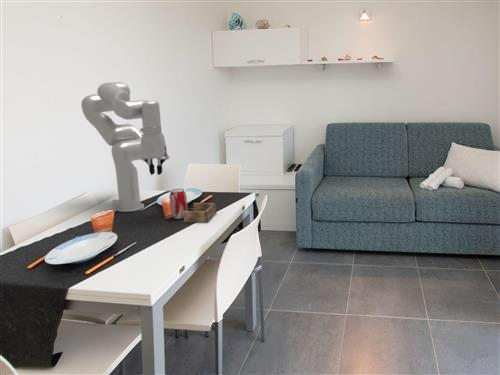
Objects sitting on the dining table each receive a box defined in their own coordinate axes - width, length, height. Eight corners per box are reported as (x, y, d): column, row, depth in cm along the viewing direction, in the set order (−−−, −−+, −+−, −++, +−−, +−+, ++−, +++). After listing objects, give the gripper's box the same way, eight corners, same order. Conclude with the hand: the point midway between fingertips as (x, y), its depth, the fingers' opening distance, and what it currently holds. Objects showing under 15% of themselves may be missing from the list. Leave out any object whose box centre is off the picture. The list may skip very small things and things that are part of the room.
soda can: (186, 219, 214) (184, 191, 212) (170, 219, 215) (167, 192, 212) (188, 214, 221) (186, 188, 219) (172, 215, 222) (170, 188, 219)
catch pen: (184, 222, 210) (183, 211, 209) (194, 212, 224) (193, 203, 223) (207, 222, 208) (206, 212, 207) (216, 213, 222) (215, 203, 221)
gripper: (130, 132, 209) (134, 176, 214) (167, 131, 206) (171, 176, 210) (138, 130, 217) (142, 172, 221) (173, 129, 213) (177, 172, 217)
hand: (156, 173), depth 215 cm, fingers open, 2 cm apart
